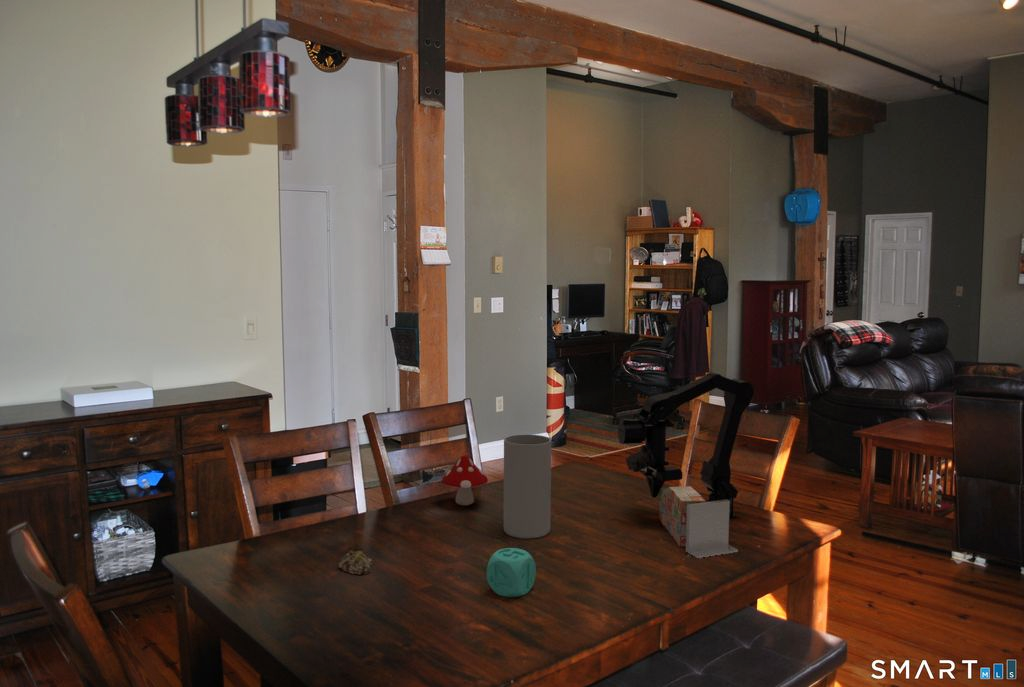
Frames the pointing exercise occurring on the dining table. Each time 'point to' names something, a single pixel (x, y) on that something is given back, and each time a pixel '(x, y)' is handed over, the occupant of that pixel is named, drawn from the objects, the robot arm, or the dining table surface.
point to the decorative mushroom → (464, 479)
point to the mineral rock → (356, 563)
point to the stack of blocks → (677, 510)
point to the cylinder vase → (527, 486)
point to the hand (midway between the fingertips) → (654, 497)
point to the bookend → (708, 529)
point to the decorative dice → (511, 572)
